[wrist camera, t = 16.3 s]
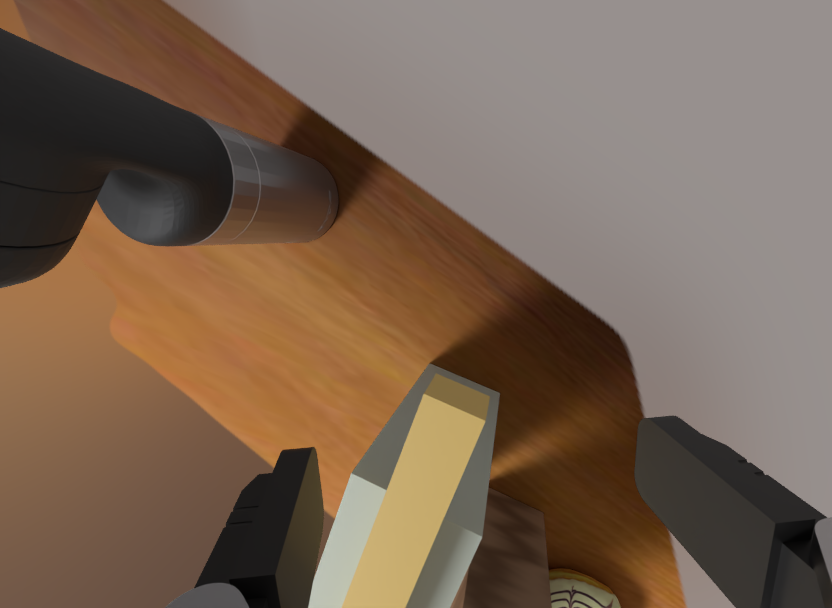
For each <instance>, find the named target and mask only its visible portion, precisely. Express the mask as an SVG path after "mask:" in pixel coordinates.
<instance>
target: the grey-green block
mask: <svg viewBox="0 0 832 608" xmlns="http://www.w3.org/2000/svg"><path fill="white" fill-rule="evenodd" d="M436 373H437V374H439V375H441V376H444V377H446V378H448V379H451V380H453V381H455V382H458V383H460V384H462V385H465V386H467V387H469V388H472V389H474V390H476V391H479V392H481V393H483V394H486V395H488V396H490V400H489V406H488V411H487V417H486V421H485V424H484V426H483V428H482V431H481V433H480V435H479V438H478V440H477V442H476V445H475V447H474V449H473V452H472V454H471V456H470V459H469V461H468V463H467V466H466V468H465V470H464V473H463V475H462V477H461V480H460V482H459V484H458V487H457V489H456V491H455V494H454V496H453V498H452V500H451V503H450V505H449V507H448V510H447V512H446V514H445V517H444V519H443V521H442V524H441V526H440V528H439V531H438V533H437V535H436V538H435V540H434V542H433V545H432V547H431V549H430V552H429V554H428V556H427V559H426V561H425V563H424V566H423V568H422V570H421V573H420V575H419V577H418V580H417V582H416V584H415V587H414V589H413V591H412V593H411V596H410V598H409V600H408V603H407V605H406V607H405V608H450V607H451V604H452V602H453V600H454V598H455V596H456V593H457V591H458V589H459V587H460V585H461V583H462V580H463V578H464V576H465V574H466V572H467V569H468V567H469V565H470V563H471V561H472V558H473V556H474V554H475V552H476V550H477V548H478V545H479V543H480V541H481V539H482V536H483V528H484V519H485V511H486V503H487V495H488V487H489V479H490V471H491V463H492V454H493V446H494V438H495V430H496V422H497V414H498V406H499V398H500V393H499V392H496V391H494V390H492V389H489V388H487V387H485V386H482V385H480V384H477V383H475V382H473V381H470V380H468V379H466V378H463V377H461V376H459V375H456V374H454V373H451V372H449V371H447V370H444V369H442V368H440V367H437V366H435V365H433V364H430V363H429V365H428V366H427V367H426V369H425V370H424V372H423V373H422V374H421V376H420V377H419V379H418V380H417V382H416V383H415V384H414V386H413V387H412V389H411V390H410V391H409V393H408V394H407V396H406V397H405V398H404V400H403V401H402V403H401V404H400V405H399V407H398V408H397V410H396V411H395V413H394V414H393V415H392V417H391V418H390V420H389V421H388V422H387V424H386V425H385V427H384V428H383V429H382V431H381V432H380V434H379V435H378V436H377V438H376V439H375V441H374V442H373V444H372V445H371V446H370V448H369V449H368V451H367V452H366V453H365V455H364V456H363V458H362V459H361V460H360V462H359V463H358V465H357V466H356V467H355V469H354V470H353V472H352V473H351V476H350V479H349V481H348V484H347V487H346V490H345V493H344V496H343V498H342V501H341V504H340V507H339V510H338V513H337V515H336V518H335V521H334V524H333V527H332V530H331V532H330V536H329V538H328V541H327V544H326V547H325V549H324V552H323V555H322V558H321V561H320V564H319V566H318V569H317V572H316V575H315V578H314V580H313V585H312V590H311V596H310V601H309V606H308V608H342V605H343V602H344V600H345V597H346V595H347V592H348V589H349V587H350V584H351V582H352V579H353V576H354V574H355V571H356V569H357V566H358V563H359V561H360V558H361V556H362V553H363V550H364V548H365V545H366V543H367V540H368V537H369V535H370V532H371V530H372V527H373V524H374V522H375V519H376V517H377V514H378V511H379V509H380V506H381V504H382V501H383V498H384V496H385V493H386V491H387V488H388V485H389V483H390V480H391V478H392V475H393V472H394V470H395V467H396V465H397V462H398V459H399V457H400V454H401V452H402V449H403V446H404V444H405V441H406V439H407V436H408V433H409V431H410V428H411V426H412V423H413V420H414V418H415V415H416V413H417V410H418V407H419V405H420V402H421V400H422V397H423V394H424V392H425V391H426V389H427V388H428V386H429V384H430V383H431V381H432V379H433V378H434V376H435V374H436Z"/></svg>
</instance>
